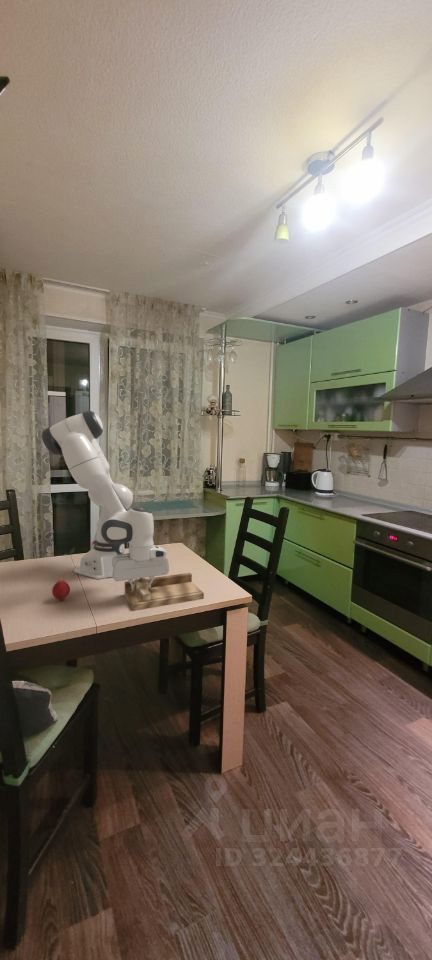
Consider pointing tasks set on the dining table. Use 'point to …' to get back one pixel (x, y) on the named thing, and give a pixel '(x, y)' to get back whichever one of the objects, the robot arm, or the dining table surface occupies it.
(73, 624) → the dining table surface
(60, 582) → the onion
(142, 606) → the wooden tray
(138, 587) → the gauge
